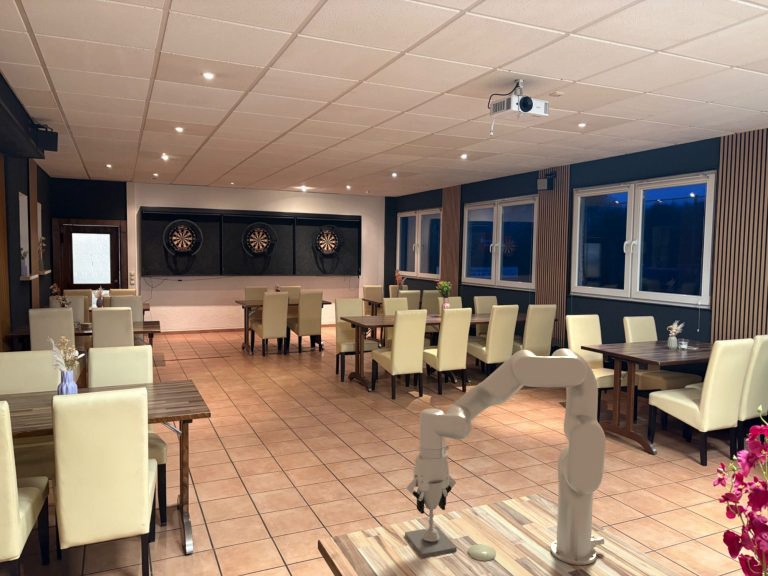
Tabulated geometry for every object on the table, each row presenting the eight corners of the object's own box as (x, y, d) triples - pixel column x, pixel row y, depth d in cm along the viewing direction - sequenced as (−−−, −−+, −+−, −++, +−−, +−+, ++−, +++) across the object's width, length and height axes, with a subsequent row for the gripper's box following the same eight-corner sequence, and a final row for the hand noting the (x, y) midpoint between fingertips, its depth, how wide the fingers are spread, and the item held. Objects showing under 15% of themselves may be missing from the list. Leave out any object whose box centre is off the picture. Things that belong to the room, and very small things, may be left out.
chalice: (443, 532, 173) (443, 474, 172) (443, 543, 167) (444, 484, 165) (419, 530, 174) (419, 473, 173) (418, 542, 167) (418, 482, 166)
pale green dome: (478, 544, 171) (478, 541, 171) (501, 554, 165) (501, 551, 165) (462, 553, 165) (462, 551, 165) (485, 564, 160) (485, 561, 160)
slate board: (437, 529, 178) (437, 526, 178) (456, 550, 166) (456, 547, 166) (404, 535, 175) (404, 532, 175) (422, 557, 162) (422, 554, 162)
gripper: (452, 443, 175) (451, 500, 176) (400, 450, 169) (399, 509, 170) (464, 452, 168) (463, 511, 169) (410, 459, 162) (409, 520, 163)
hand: (431, 509), depth 170 cm, fingers closed on chalice, 6 cm apart
